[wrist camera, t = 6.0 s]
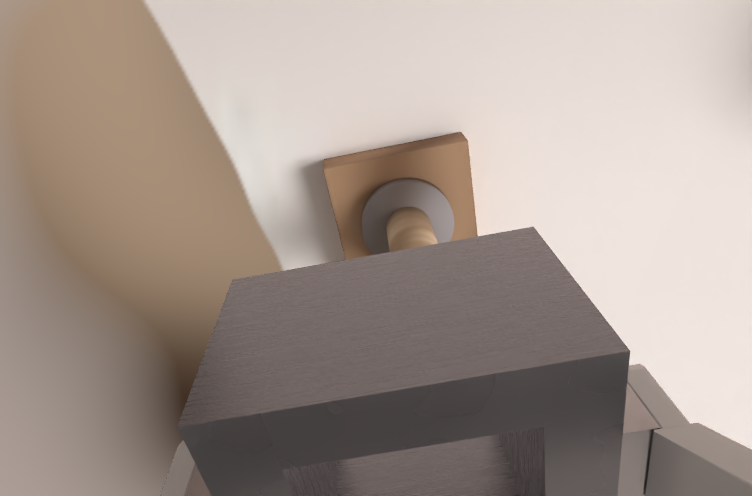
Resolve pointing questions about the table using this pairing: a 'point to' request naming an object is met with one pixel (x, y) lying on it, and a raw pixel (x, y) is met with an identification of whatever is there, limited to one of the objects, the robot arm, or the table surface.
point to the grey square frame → (412, 378)
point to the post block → (403, 196)
